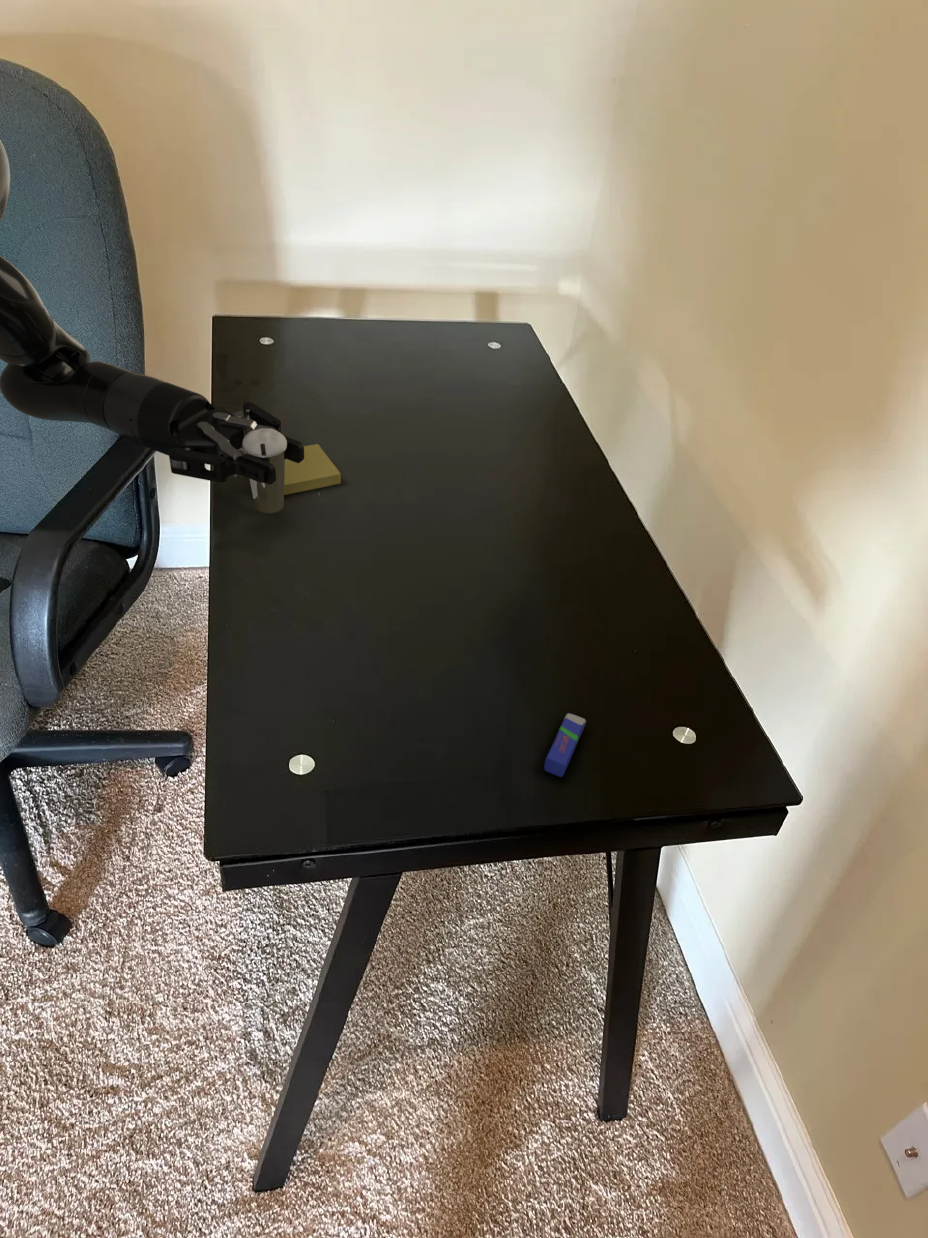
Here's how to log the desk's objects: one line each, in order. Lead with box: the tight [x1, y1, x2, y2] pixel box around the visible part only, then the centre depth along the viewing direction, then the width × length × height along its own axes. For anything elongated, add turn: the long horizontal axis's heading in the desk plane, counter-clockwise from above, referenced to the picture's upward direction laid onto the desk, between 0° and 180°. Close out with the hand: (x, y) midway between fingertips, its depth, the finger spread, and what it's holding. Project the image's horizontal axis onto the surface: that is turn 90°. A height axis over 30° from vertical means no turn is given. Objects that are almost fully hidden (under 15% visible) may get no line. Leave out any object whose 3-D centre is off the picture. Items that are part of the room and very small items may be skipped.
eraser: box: [543, 712, 587, 778], centre depth 74 cm, size 2×6×2 cm, turn 157°
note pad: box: [284, 443, 342, 496], centre depth 103 cm, size 8×8×2 cm
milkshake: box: [242, 428, 287, 515], centre depth 89 cm, size 4×5×10 cm
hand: (287, 464), depth 87 cm, fingers closed on milkshake, 4 cm apart
